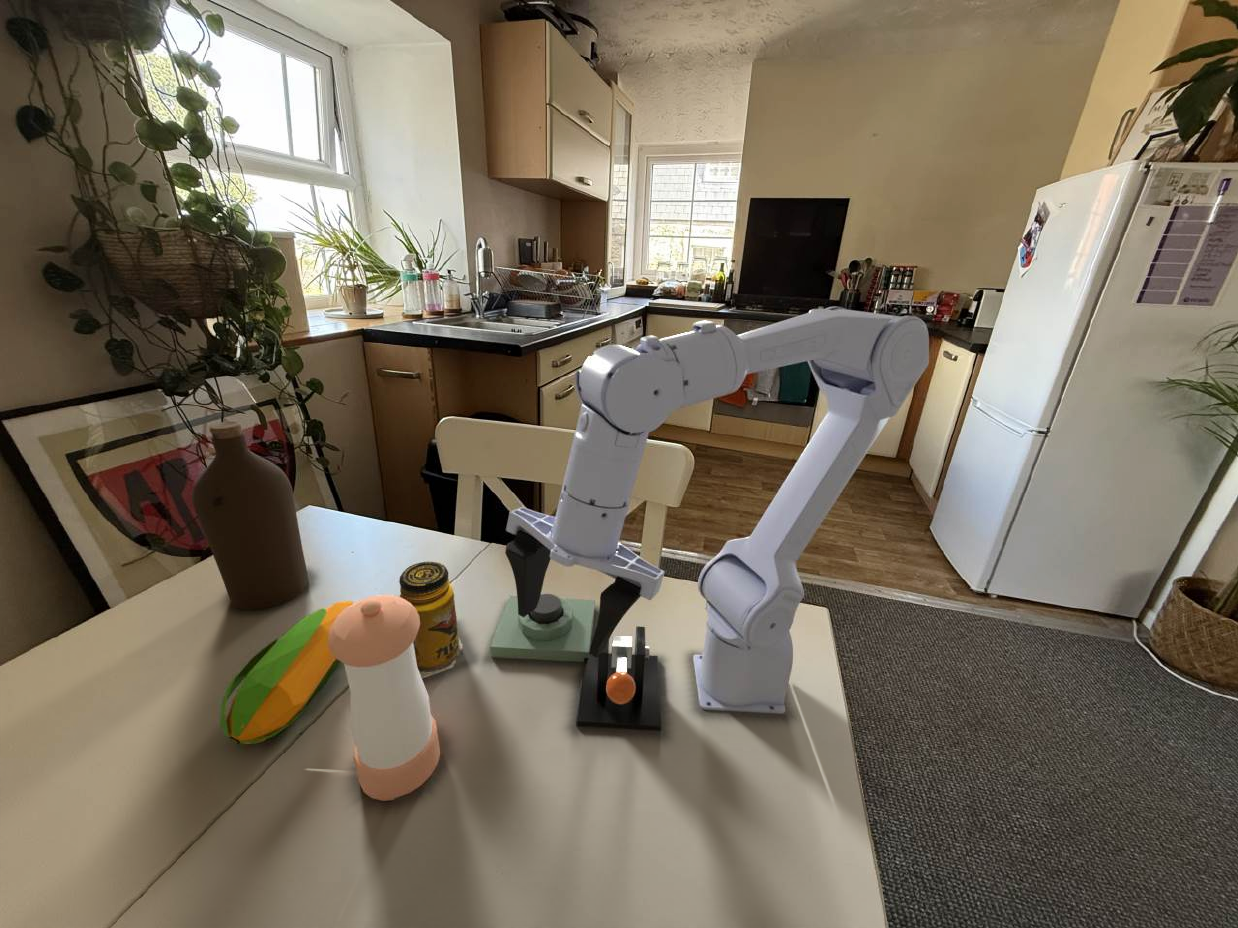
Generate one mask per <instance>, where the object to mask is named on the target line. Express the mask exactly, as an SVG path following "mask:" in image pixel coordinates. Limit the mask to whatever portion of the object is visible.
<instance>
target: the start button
mask: <svg viewBox="0 0 1238 928" xmlns="http://www.w3.org/2000/svg"><path fill="white" fill-rule="evenodd" d="M557 596H558V595H555V594H552V593H541V595H540V599H539V602H538V604H537V607H536V609H534V610H533V611H532V612H530V616H531V618H532V620H533V621H534V622H536V623H539V624H550V623H553V622H556V621H557V620H558V619H559V618H560V617H561V614H562V606H561V600H560V598H559V597H560V596H559V597H557Z"/></svg>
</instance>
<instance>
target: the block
mask: <svg viewBox="0 0 1238 928" xmlns="http://www.w3.org/2000/svg"><path fill="white" fill-rule="evenodd" d="M556 596H557V597H559V598H560V600H561V606H562V614H561V617H560V618H559V619H558V620H557V621H556V622H553V623H550V624H539V623H536V622H534V621H533V620H532V618H531V616H530V613H529V614H528V615H526V616H525V617H522V616H520V615H518V600H517V595H509V597H508V599H507V602H506V605H505V607H504V610H503V612H502V615H501V618H500V620H499V622H498V625H497V628H496V631H495V632H494V633H495V634H494V636H493V639H492V642H491V644H490V647H489V648H490V657H491V658H501V659H502V658H505V659H522V660H523V659H524V660H539V661H540V660H542V661H558V662H560V661H561V662H576V663H577V662H578V663H584V658H588V657H589V651H590V645H591V642H592V637H593V635H592V634H593V627H594V619H595V610H596V600H595V599H586V598H585V599H584V598H566V597H561V596H558V595H556Z"/></svg>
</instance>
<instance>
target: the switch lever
mask: <svg viewBox="0 0 1238 928" xmlns="http://www.w3.org/2000/svg"><path fill="white" fill-rule="evenodd" d="M611 642H612V643H611V653H612V657H611V668H616V673H614V674H612V675H611V676H610V677H609V679H608V681H607V684H606V692H607V695H608V697H609V698H610V700H611V701H613V702H614V703H617V704H625V703H627V702H629V701H630V700H631V699H632V698H633V696H634V694H635V690H636V686H635V682H634V680H633V678H632V677H631V676H630V675H629V674H628V673H627V668H629V669H631V666H632V654H633V636H622V635H621V636H620V635H612V641H611Z"/></svg>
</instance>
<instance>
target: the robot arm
mask: <svg viewBox="0 0 1238 928" xmlns="http://www.w3.org/2000/svg"><path fill="white" fill-rule="evenodd" d="M929 336H930V335H929V330H928V326H927V324H926V323H925V321H924V320H923V319H922V318H919V317H918V316H915V315H904V316H900V315H891V314H884V313H876V312H867V311H861V310H853V309H847V308H845V307H843V306H836V305H835V306H829V307H826V308H812V309H810V310H809V311H808V312H807V313H803V314H800V315H797V316H794V317H791V318H787V319H784V320H781V321H778V322H775V323H772V324H768V325H766V326H762V327H759V328H756V329H753V330H749V331H745V332H743V333H740V334H737V333H735V332H734V331H733V330H731V329H730V328H729V327H727V326H725V325H722V324H718V325H717V323H716V322H714V321H711V320H700V321H696V322H694V323H692V331H689V332H684V333H680V334H676V335H671V336H667V337H663V338H660V339H659V337H658V336H655V335H651V334H650V335H646V336H642V337H641V338H640V339H639V340H640V344H638V345H637V346H636V348H635V349H632V348H629V347H627V346H624V345H622V344H607V345H604V346H601V347H599V348H597V349H596V350H594V351H593V352H592V353H593V354H592V355H591V356H590V355H589V356H588V357H587V358H586V360H585V361H584V363H583V364H582V367H581V369H579V370H576V371H575V373H574V388H575V392H576V395H577V397H578V399H579V402H580V411H579V415H578V419H577V424H576V427H575V432H574V435H573V439H572V444H571V448H570V452H569V456H568V461H567V464H566V470H565V473H564V477H563V481H562V487H561V491H560V494H559V499H558V502H557V503H558V504H557V508H556V512H555V516H552V515H548V514H545V513H541V512H538V511H536V510H533V509H529V508H527V507H524V506H521V507H518V508H516V509H513V510H511V511H509V513H508V517H507V524H506V528H505V531H506V532H507V533H510V534H511V535H515V537H514V538H513V540H512V541H510V542H508V543H507V544H506V546H505V552H504V553H505V556H506V558H507V559H508V563H509V565H510V567H511V570H512V573H513V577H514V582H515V590H516V596H517V600H518V615H520V616H522V617H525V616H526V615H528V614H529V613H530V612H532V611H533V610H534V609H536V607H537V604H538V602H539V599H540V595H541V594H542V591H543V586H544V582H545V578H546V573H547V570H548V568H549V565H550V562H551V560H552V561H554V562H556V563H558V564H560V565H562V566H564V567H568V568H571V567H573V566H575V565H577V566H580V567H584V568H588V569H591V570H594V571H598V572H600V573H602V574H603V575H606V576H608V577H610V578H612V579H614V582H613V583H610V584H609V585H608V586H607V587H606V588H605V589H604V590H602V591H601V593H600V596H599V609H598V610H599V611H598V617H597V618H598V619H597V623H596V626H595V627H596V628H595V630H594V634H593V635H592V638H591V644H590V651H589V654H591V655H593V656H594V657H597V656H598V655H599V654H600V653H601V652H602V650H603V649H604V648H605V647H606V645H607V643H608V641H609V642H610V638H611V637H612V636H613V632H614V631H615V629H616V628H617V626H618V625H619V623H620V622H621V620H622V619H623V617H625V615H626V614H627V613H628V611H629V610H630V609H631V608H632V606H633V605H634V604H635V603H636V602H637V601H638V600H639V599H640V598H641V597H642V598H644V599H647V600H648V601H651V600H653V599H654V597H655V596H657V594H658V593H659V591H660V590H661V589H660V588H661V586H662V582H663V579H664V576H665V573H666V571H665V570H663V569H661V568H658V567H657V566H655V565H653V564H651V563H650V562H648V561H647V560H646V559H644V558H642V556H639V555H638V554H637V553H635V552H634V551H632V550H631V549H629V548H628V547H626V546H625V545H624V544H622V543H621V542H619V541H620V538H621V536H622V535H621V534H622V531H623V527H624V524H625V520H626V517H627V513H628V510H629V507H630V502H631V498H632V495H633V491H634V487H635V483H636V480H637V478H638V477H637V476H638V473H639V469H640V465H641V462H642V458H643V455H644V452H645V449H646V446H647V441H648V439H649V434H650V432H653V431H655V430H656V429H659V427H660V426H662V425H663V423H665V421H666V420H667V419H669V418H668V417H670V415H671V414H672V413H673V412H674V411H676V410H680V409H683V408H686V407H690V406H694V405H696V404H699V403H703V402H707V401H710V400H713V399H716V398H721V397H723V396H727V395H730V394H734V393H735V392H737V391H738V390H739V389H740V387H741V386H742V384H743V382H744V380H745V378H746V376H747V375H750V374H754V373H759V372H763V371H768V370H773V369H777V368H782V367H786V366H790V365H796V364H801V363H804V362H807V363H808V366H809V369H810V371H811V373H812V375H813V377H814V380H815V381H816V384H817V386H818V388H819V390H820V392H821V394H822V395H823V396H824V397H825V399H826V404H827V413H826V414H825V416H824V418H823V419H822V421H821V422H820V424H819V426H818V427H817V429H816V430H815V432H814V434H813V435H812V437H811V438H810V440H809V441H808V443H807V444H806V447H805V448H804V450H803V451H802V453H801V454H800V456H799V458H798V459H797V461H796V462H795V464H794V465H793V467H792V469H791V470H790V471H789V474H788V475H787V477H786V478H785V480H784V481H783V483H782V484H781V486H780V488H779V489H778V490H777V493H776V494H775V496H774V498H773V499H772V500H771V502H770V504H769V506H768V507H767V509H766V510H765V512H764V513H763V515H762V517H761V518H760V520H759V521H758V523H757V524H756V526H755V528H754V529H753V531H752V533H751V534H750V535H749V536H746V537H741V538H734V539H730V540H727V541H726V542H725V544H724V546H723V547H722V548H721V549H720V551H719V553H717V554H716V555H715V556H714V557H713V558H712V559H710V560H709V561H708V562H707V563H706V564H705V565H704V567H703V568H702V570H701V571H700V573H699V576H698V579H697V590H698V592H699V595H701V597H702V598H703V599H705V600H706V601H705V607H704V610H705V611H706V613H707V618H706V625H705V632H704V638H703V639H704V640H703V647H702V654H693V656H692V657H693V659H692V661H693V666H694V667H693V668H694V674H695V681H696V688H697V696H698V703H699V707H700V708H701V709H702V710H706V711H723V712H724V711H726V712H745V713H759V714H761V713H764V714H778V715H779V714H781V715H783V714H785V713H786V706H785V700H786V696H787V691H788V687H789V682H790V678H791V674H792V671H793V663H794V661H793V660H794V645H793V638H792V634H791V631H790V630H791V628H792V626H793V623H794V619H795V615H796V612H797V610H798V607H799V605H800V603H801V602H802V600H803V599H804V597H805V589H804V587H803V584H802V583H803V582H802V580H801V578H800V575H799V571H798V569H797V562H798V560H799V559H800V557H801V556H802V554H803V552H804V551H805V549H806V548H807V547H808V545H809V543H810V542H811V540H812V538H813V537H814V535H815V534H816V533H817V531H818V530H819V528H820V526H821V525H822V524H823V522H824V520H825V519H826V517H827V515H828V514H829V513H830V510H831V509H833V506H834V505H835V503H836V502H837V500H838V498H839V497H840V495H841V494H842V492H843V491H844V489H845V488H846V486H847V485H848V483H849V481H850V480H851V478H852V476H853V475H854V474H855V472H856V470H857V469H858V467H859V466H860V464H861V463H862V462H863V460H864V459H865V457H866V455H867V454H868V452H869V451H870V450H871V447H872V446H873V444H874V443H875V441H876V440H877V438H878V437H879V436H880V433H881V432H882V430H883V429H884V428H885V426H886V424H887V423H888V421H889V420H890V418H891V417H895V416H896V415H897V414H898V412H899V410H900V409H901V408H902V406H903V405H904V403H905V402H906V400H907V398H908V397H909V395H910V394H911V393H912V390H913V389H914V387H915V386H916V384H917V383H918V381H919V380H920V378H921V376H922V375H923V373H924V372H925V370H926V369H927V368H928V366H929V364H930V337H929Z"/></svg>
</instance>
